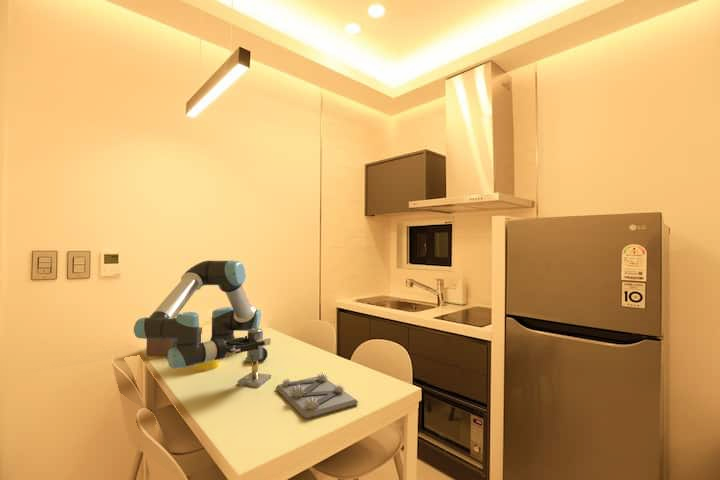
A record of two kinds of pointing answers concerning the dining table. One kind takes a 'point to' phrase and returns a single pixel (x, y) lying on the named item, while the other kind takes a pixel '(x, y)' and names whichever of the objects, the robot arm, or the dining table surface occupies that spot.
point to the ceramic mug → (264, 356)
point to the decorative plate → (315, 396)
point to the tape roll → (208, 365)
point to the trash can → (252, 337)
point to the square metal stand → (254, 377)
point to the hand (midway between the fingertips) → (265, 339)
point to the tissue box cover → (163, 346)
